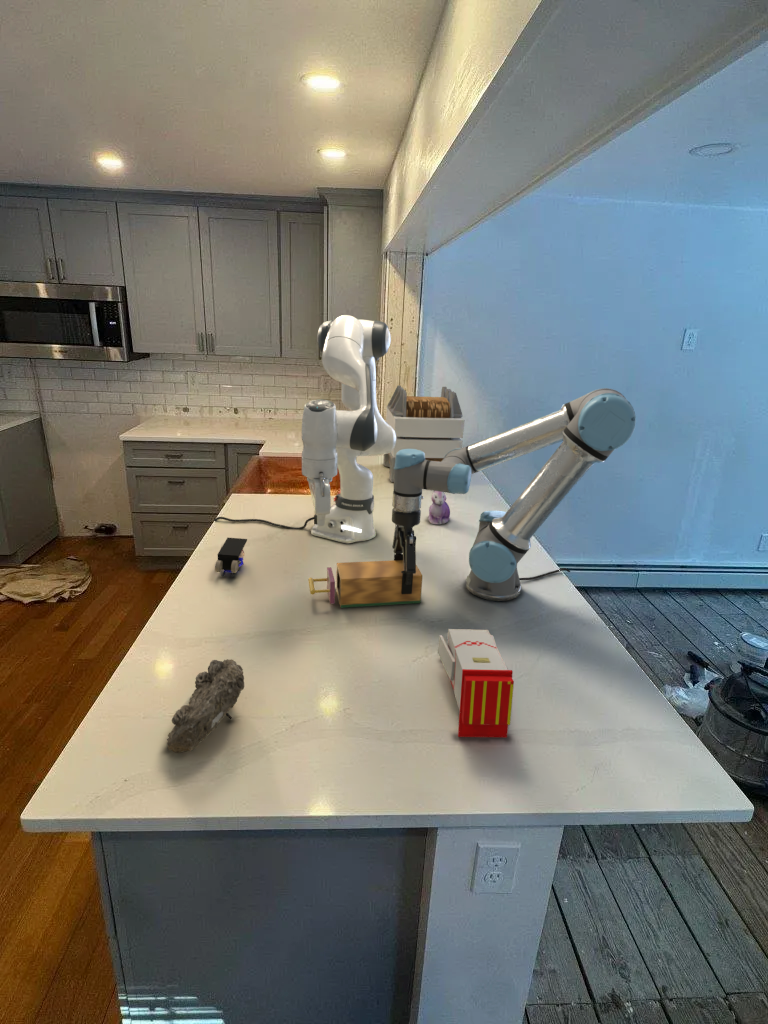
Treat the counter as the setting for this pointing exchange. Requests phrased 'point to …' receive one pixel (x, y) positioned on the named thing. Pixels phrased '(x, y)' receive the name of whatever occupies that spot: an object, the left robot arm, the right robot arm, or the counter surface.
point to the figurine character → (230, 556)
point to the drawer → (330, 585)
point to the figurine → (439, 508)
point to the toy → (478, 682)
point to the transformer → (424, 425)
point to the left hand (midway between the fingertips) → (319, 519)
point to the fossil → (206, 705)
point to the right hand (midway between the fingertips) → (402, 584)
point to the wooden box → (375, 584)
